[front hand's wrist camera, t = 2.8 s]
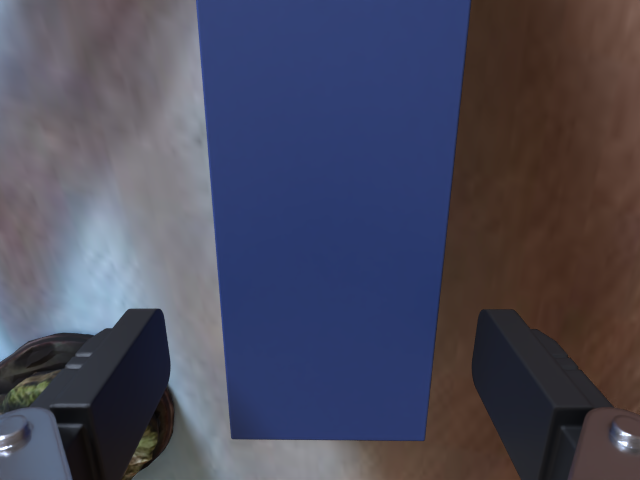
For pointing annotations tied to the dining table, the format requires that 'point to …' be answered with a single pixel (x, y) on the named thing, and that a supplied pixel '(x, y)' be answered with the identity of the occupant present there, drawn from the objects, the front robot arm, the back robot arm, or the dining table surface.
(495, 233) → the dining table surface
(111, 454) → the front robot arm
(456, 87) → the box
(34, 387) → the figurine
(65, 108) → the dining table surface
